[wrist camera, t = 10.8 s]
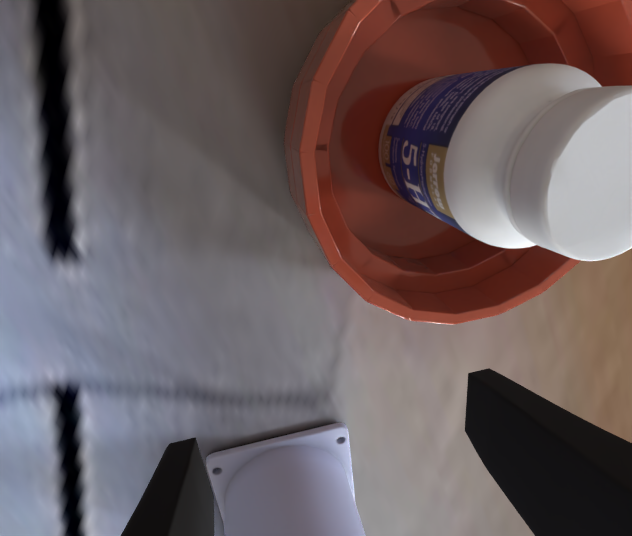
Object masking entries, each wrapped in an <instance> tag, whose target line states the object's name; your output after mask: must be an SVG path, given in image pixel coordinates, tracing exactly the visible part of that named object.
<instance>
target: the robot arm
mask: <svg viewBox="0 0 632 536" xmlns="http://www.w3.org/2000/svg"><path fill="white" fill-rule="evenodd" d="M465 431H466V433H467V435H468V437H469V439H470V441H471V442H472V444H473V446H474V448H475V450H476V452H477V453H478V455H479V457H480V458H481V460H482V462H483V464H484V465H485V467H486V468H487V470H488V471H489V473H490V474H491V475H492V477H493V478H494V480H495V481H496V482H497V484H498V485H499V487H500V488H501V489H502V491H503V492H504V494H505V495H506V496H507V498H508V499H509V500H510V502H511V503H512V505H513V506H514V507H515V509H516V510H517V511H518V513H519V514H520V516H521V517H522V518H523V520H524V521H525V522H526V524H527V525H528V526H529V528H530V529H531V531H532V532H533V533H534V535H535V536H632V443H630V442H628V441H626V440H624V439H622V438H620V437H618V436H616V435H613V434H611V433H609V432H607V431H605V430H603V429H601V428H599V427H597V426H595V425H593V424H591V423H589V422H587V421H585V420H583V419H582V418H580V417H578V416H576V415H574V414H572V413H570V412H568V411H566V410H565V409H563V408H561V407H559V406H557V405H555V404H553V403H552V402H550V401H548V400H546V399H544V398H543V397H541V396H539V395H537V394H535V393H533V392H532V391H530V390H528V389H526V388H524V387H523V386H521V385H519V384H517V383H515V382H514V381H512V380H510V379H508V378H506V377H505V376H503V375H501V374H499V373H497V372H495V371H493V370H491V369H485V370H481V371H476V372H472V373H468V389H467V405H466V421H465ZM339 437H341V438H339ZM338 438H339V439H338ZM206 468H207V471H208V475H209V478H210V481H211V484H212V488H213V491H214V494H215V497H216V501H217V504H218V507H219V510H220V514H221V517H222V520H223V523H224V527H225V536H366V535H365V532H364V529H363V526H362V523H361V519H360V516H359V513H358V510H357V507H356V504H355V494H354V484H353V474H352V464H351V454H350V443H349V433H348V429H347V426H346V425H345V424H344V423H341V422H340V423H335V424H330V425H326V426H322V427H318V428H314V429H310V430H306V431H301V432H297V433H293V434H289V435H285V436H281V437H277V438H273V439H268V440H264V441H260V442H256V443H252V444H248V445H244V446H240V447H235V448H231V449H227V450H223V451H219V452H215V453H212V454H210V455H209V456H207V458H206ZM215 468H218V469H215ZM121 536H214V496H213V492H212V489H211V486H210V482H209V479H208V476H207V473H206V470H205V466H204V463H203V460H202V457H201V453H200V450H199V447H198V444H197V441H196V438H191V439H187V440H183V441H179V442H174V443H170V444H169V445H168V447H167V448H166V450H165V452H164V454H163V456H162V458H161V460H160V462H159V464H158V466H157V468H156V470H155V472H154V474H153V476H152V478H151V480H150V482H149V484H148V486H147V488H146V490H145V492H144V494H143V496H142V498H141V500H140V502H139V503H138V505H137V507H136V509H135V511H134V513H133V514H132V516H131V518H130V520H129V522H128V523H127V525H126V527H125V529H124V531H123V533H122V534H121Z"/></svg>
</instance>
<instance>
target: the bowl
mask: <svg viewBox="0 0 632 536" xmlns="http://www.w3.org/2000/svg"><path fill="white" fill-rule="evenodd" d="M548 63H553V64H563V65H569V66H572V67H575V68H578V69H580V70H582V71H584V72H586V73H587V74H589V75H590V76H592V77H593V78H594V79H595V80H596V81H597V82H598V83H599V84H600V85H601V86H602V87H605V86H630V85H632V0H351V1H350V2H349V3H348V4H347V5H346V6H345V7H344V8H343V9H342V10H341V11H340V12H339V13H338V14H337V15H336V16H335V17H334V18H333V19H332V20H331V21H330V22H329V24H328V25H327V26H326V27H325V28H324V29H323V30H322V31H321V32H320V34H318V36H317V38H316V40H315V42H314V44H313V46H312V48H311V50H310V53H309V55H308V57H307V59H306V61H305V63H304V65H303V67H302V69H301V71H300V73H299V75H298V77H297V79H296V81H295V83H294V85H293V88H292V93H291V99H290V105H289V111H288V117H287V123H286V129H285V135H284V151H285V158H286V166H287V173H288V180H289V188H290V193H291V196H292V198H293V200H294V202H295V204H296V206H297V208H298V210H299V213H300V215H301V217H302V219H303V221H304V223H305V225H306V227H307V229H308V231H309V233H310V235H311V236H312V238H313V240H314V241H315V243H316V244H317V246H318V247H319V249H320V251H321V252H322V254H323V255H324V257H325V258H326V260H327V261H328V263H329V265H330V266H331V267H332V268H333V269H334V270H335V271H336V272H337V273H338V274H339V275H340V276H341V277H342V278H343V279H344V280H345V281H346V282H347V283H348V284H349V285H350V286H351V287H352V288H353V289H354V290H355V291H356V292H357V293H358V294H359V295H360V296H361V297H362V298H363V299H364V300H365V301H367V302H368V303H371V304H373V305H375V306H377V307H379V308H382V309H384V310H386V311H388V312H391V313H393V314H395V315H397V316H399V317H402V318H404V319H406V320H409V321H419V322H430V323H441V324H458V323H463V322H468V321H473V320H477V319H482V318H487V317H491V316H496V315H499V314H502V313H504V312H506V311H508V310H510V309H512V308H514V307H516V306H518V305H520V304H522V303H524V302H526V301H528V300H530V299H531V298H533V297H535V296H537V295H539V294H541V293H543V292H544V291H546V290H547V289H548V288H549V287H550V286H552V285H553V284H554V283H555V282H556V281H558V280H559V279H560V278H561V277H562V276H563V275H565V274H566V273H567V272H568V271H569V270H571V269H572V268H573V267H574V266H575V265H576V264H578V263H579V262H580V261H581V260H576V259H573V258H569V257H567V256H564V255H561V254H559V253H556V252H554V251H551V250H549V249H546V248H543V247H540V246H538V245H535V246H531V247H526V248H502V247H496V246H492V245H489V244H486V243H484V242H482V241H480V240H477V239H475V238H473V237H471V236H469V235H468V234H466V233H464V232H462V231H460V230H459V229H457V228H455V227H453V226H451V225H449V224H448V223H446V222H444V221H442V220H440V219H438V218H436V217H435V216H433V215H431V214H429V213H427V212H425V211H423V210H422V209H420V208H418V207H416V206H414V205H412V204H410V203H409V202H407V201H405V200H403V199H402V198H400V197H399V196H398V195H397V194H396V193H395V192H394V191H393V190H392V189H391V188H390V186H389V185H388V183H387V181H386V180H385V178H384V175H383V173H382V170H381V167H380V162H379V152H378V149H379V139H380V134H381V130H382V127H383V124H384V122H385V119H386V117H387V115H388V113H389V112H390V110H391V108H392V107H393V106H394V104H395V103H396V102H397V101H398V99H399V98H400V97H401V96H402V95H403V94H404V93H406V92H407V91H408V90H409V89H411V88H412V87H414V86H415V85H417V84H419V83H421V82H423V81H426V80H429V79H432V78H437V77H442V76H448V75H456V74H463V73H471V72H478V71H486V70H493V69H501V68H509V67H516V66H524V65H532V64H548Z"/></svg>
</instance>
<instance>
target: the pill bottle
mask: <svg viewBox="0 0 632 536" xmlns="http://www.w3.org/2000/svg"><path fill="white" fill-rule="evenodd" d="M378 152H379V162H380V167H381V170H382V173H383V175H384V178H385V180H386V181H387V183H388V185H389V186H390V188H391V189H392V190H393V191H394V192H395V193H396V194H397V195H398V196H399V197H400V198H402V199H403V200H405V201H407V202H409V203H410V204H412V205H414V206H416V207H418V208H420V209H422V210H423V211H425V212H427V213H429V214H431V215H433V216H435V217H436V218H438V219H440V220H442V221H444V222H446V223H448V224H449V225H451V226H453V227H455V228H457V229H459V230H460V231H462V232H464V233H466V234H468V235H469V236H471V237H473V238H475V239H477V240H480V241H482V242H484V243H486V244H489V245H492V246H496V247H502V248H526V247H531V246H535V245H538V246H540V247H543V248H546V249H549V250H551V251H554V252H556V253H559V254H561V255H564V256H567V257H569V258H573V259H576V260H583V261H598V260H603V259H608V258H611V257H614V256H617V255H619V254H622V253H624V252H625V251H627V250H629V249H631V248H632V85H630V86H605V87H602V86H601V85H600V84H599V83H598V82H597V81H596V80H595V79H594V78H593V77H592V76H590V75H589V74H587V73H586V72H584V71H582V70H580V69H578V68H575V67H572V66H569V65H563V64H553V63H548V64H532V65H524V66H516V67H509V68H501V69H493V70H486V71H478V72H471V73H463V74H456V75H448V76H442V77H437V78H432V79H429V80H426V81H423V82H421V83H419V84H417V85H415V86H414V87H412V88H411V89H409V90H408V91H407V92H406V93H404V94H403V95H402V96H401V97H400V98H399V99H398V101H397V102H396V103H395V104H394V106H393V107H392V108H391V110H390V112H389V113H388V115H387V117H386V119H385V122H384V124H383V127H382V130H381V134H380V139H379V149H378Z"/></svg>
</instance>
